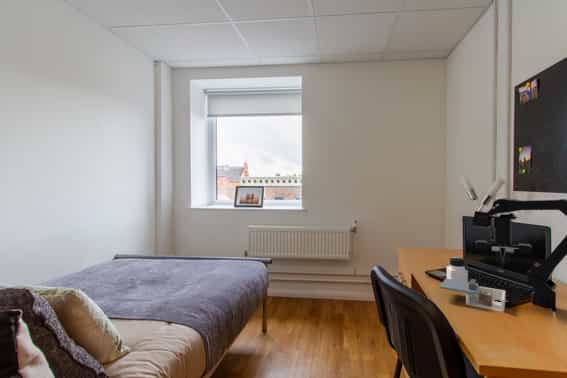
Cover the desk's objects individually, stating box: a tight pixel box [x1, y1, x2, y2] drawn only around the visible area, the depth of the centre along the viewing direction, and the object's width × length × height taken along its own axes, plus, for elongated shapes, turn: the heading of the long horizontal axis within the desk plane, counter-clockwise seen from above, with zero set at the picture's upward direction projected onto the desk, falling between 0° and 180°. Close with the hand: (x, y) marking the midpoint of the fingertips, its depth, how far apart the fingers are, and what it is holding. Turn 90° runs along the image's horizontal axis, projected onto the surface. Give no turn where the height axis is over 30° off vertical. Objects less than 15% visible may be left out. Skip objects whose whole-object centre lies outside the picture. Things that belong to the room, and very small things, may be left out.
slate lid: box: [439, 278, 479, 294], centre depth 129 cm, size 12×12×3 cm
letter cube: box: [479, 291, 492, 306], centre depth 123 cm, size 4×4×4 cm
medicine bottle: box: [446, 256, 469, 282], centre depth 148 cm, size 7×7×12 cm
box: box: [465, 285, 506, 313], centre depth 124 cm, size 12×12×5 cm
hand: (502, 267), depth 130 cm, fingers closed
